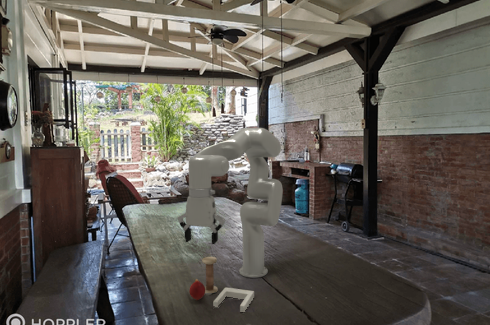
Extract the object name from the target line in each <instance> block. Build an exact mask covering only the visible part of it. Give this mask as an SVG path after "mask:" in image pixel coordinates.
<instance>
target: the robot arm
mask: <svg viewBox="0 0 490 325" xmlns="http://www.w3.org/2000/svg"><path fill="white" fill-rule="evenodd" d="M281 151H282V144H281V141H280V140H279V139H278V137H276V136H275V135H274V134H273V133H272V132H270V131H269V130H268V129H267V128H264V127H244V128H241V129H239V130H238V131H237V132H235V133H234V134H232V135H231V136H230V137H229V138H227V139H225V140H222V141H221V142H218V143H215V144H212V145H209V146H207V147H204V148H203V149H201V150H200V151H198V152H197V153H196V154H195V155H194V156H191V157H190V158H189V159H188V191H189V192H188V196H187V200H186V206H185V213H183V214H180V215H179V216H177V219H176V220H177V222H178V223H179V226H180V227H181V228H182V230H183V232H184V239H185V242H186V243H188V242H190V241H191V240H192V229H191V227H202V228H209V229H210V230H211V231H212V233H211V244H212V245H215V244H217V242H218V240H219V231H220V230H221V228H223V225H224V223H225V222H226V219H225V218H223V217H222V216H220V215H219V214H217V207H216V206H217V205H216V201H215V197H214V196H213V195H215V194H216V190H215V189H213V187H212V177H223V176H225V175H226V174H227V173H228V172H229V170H230V162H231V161H234V160H238V159H239V158H241V157H242V156H243V155H244V154H245V155H246V157H247V159H248V162H249V175H248V180H247V187H246V188H247V189H246V193H247V196H248V198H251V199H253V200H259V202H257V201H246V202H244V203H243V204H242V205H241V206H240V209H239V217H240V221H241V228H242V229H241V230H242V231H241V232H242V234H241V235H242V266H241V267H240V268H239V269H238V270H239V275H241V276H243V277H245V278H261V277H265V276H266V275H267V274H268V268H267V267H265V233H264V229H263V228H262V226H265V227H274V226H276V225H277V224H278V222H279V219H280V214H281V208H282V200H283V192H284V190H283V185H282V182H281V181H280V180H279V179H276V178H269V174H270V172H269V171H270V168H269V164H268V162H267V161H266V159H265V158H277V157H278V156H279V155H280V153H281ZM260 201H267V203H266V202H260ZM184 218H185V221H184ZM217 222H219V223H218V225H217Z"/></svg>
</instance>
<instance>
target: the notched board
mask: <svg viewBox="0 0 490 325" xmlns="http://www.w3.org/2000/svg"><path fill="white" fill-rule="evenodd" d="M226 296H227V297H233V298H238V299H237V300H240V299H244V300H242V302H241V304H240V305H239V313H240V312H245V313H246V311H247V310H246V309H248V308H249V307H250V305H249V304H251V303H252V302H251V301H253V300H254V299H255V291H254V290H250V289H249V290H247V289H241V288H240V289H238V288H235V287H234V288H233V287H224V288H223V290H222V291H221V292H220V293H219V295H217V296H216V298H215V299H214V300H213V303H212V305H213V306H215V307H218V305H219V304H220V303H221V302H222V301H223V300H224V299H225V297H226ZM233 298H232V299H233ZM253 298H254V299H253ZM225 300H226V299H225ZM225 300H224V301H225ZM224 301H223V302H224ZM223 302H222V303H223ZM213 306H212V307H213ZM247 307H248V308H247ZM218 308H219V307H218ZM245 310H246V311H245Z"/></svg>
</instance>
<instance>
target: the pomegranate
mask: <svg viewBox="0 0 490 325" xmlns="http://www.w3.org/2000/svg"><path fill="white" fill-rule="evenodd" d="M205 287H206V285H204V284H203V283H202V282H201V281H199V279H197V278H196V279H195V281H194V282H193V283H191V285H190V287H189V291H188V292H189V295H190V296H191V298H193V299H194V300H195V299H196V300H195V301H199V300H200V299H202V298H203V297H204V296H205Z"/></svg>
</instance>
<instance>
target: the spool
mask: <svg viewBox="0 0 490 325" xmlns="http://www.w3.org/2000/svg"><path fill="white" fill-rule="evenodd" d="M201 261H202V264H205V293H214V292H217V291H219V290H218V289H219V288H218V287H217V286H215V285H214V284H215V283H214V281H215V280H214V279H215V278H214V277H215V276H214V271H215V270H214V264H216V263H217V261H218V260H217V257H215V256H205V257H203V258H201ZM217 293H218V292H217Z"/></svg>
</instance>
